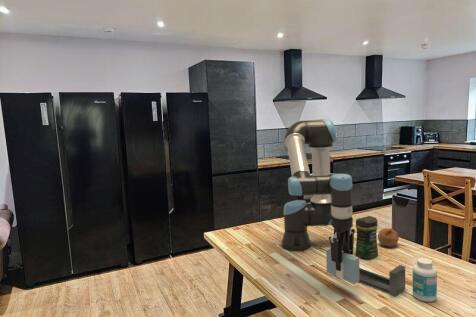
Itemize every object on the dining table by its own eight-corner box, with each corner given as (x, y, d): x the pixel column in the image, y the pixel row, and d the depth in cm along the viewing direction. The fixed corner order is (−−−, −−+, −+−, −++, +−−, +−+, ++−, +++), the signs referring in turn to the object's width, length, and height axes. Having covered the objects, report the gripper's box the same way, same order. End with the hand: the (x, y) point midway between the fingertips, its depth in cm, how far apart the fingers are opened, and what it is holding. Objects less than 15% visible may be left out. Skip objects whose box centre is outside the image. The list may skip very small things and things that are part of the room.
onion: (391, 254, 155) (393, 240, 150) (373, 244, 162) (374, 230, 157) (401, 243, 160) (403, 228, 155) (383, 234, 166) (384, 220, 161)
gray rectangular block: (326, 272, 124) (326, 250, 123) (331, 269, 126) (331, 248, 125) (354, 284, 115) (354, 260, 113) (359, 280, 117) (359, 257, 115)
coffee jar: (366, 261, 143) (366, 221, 141) (353, 255, 150) (352, 217, 148) (381, 256, 147) (380, 217, 145) (367, 250, 154) (366, 213, 152)
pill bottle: (408, 292, 116) (407, 257, 114) (427, 290, 116) (427, 255, 115) (421, 303, 108) (421, 266, 107) (441, 301, 109) (442, 264, 108)
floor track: (345, 277, 129) (345, 257, 128) (356, 271, 134) (356, 251, 133) (395, 296, 114) (394, 273, 113) (405, 288, 119) (405, 266, 118)
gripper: (337, 224, 109) (338, 287, 112) (363, 212, 119) (363, 271, 122) (319, 219, 115) (321, 280, 118) (345, 209, 125) (346, 265, 128)
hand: (343, 275), depth 120 cm, fingers closed on gray rectangular block, 3 cm apart
